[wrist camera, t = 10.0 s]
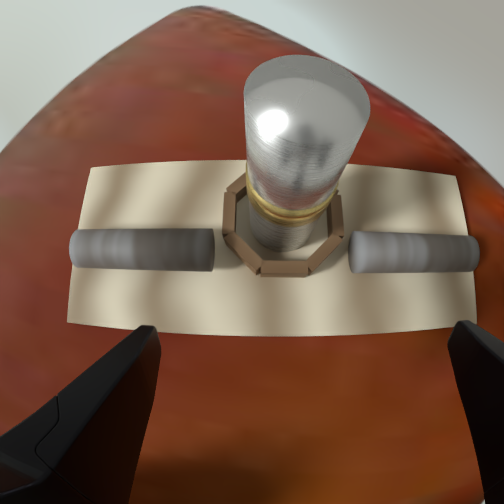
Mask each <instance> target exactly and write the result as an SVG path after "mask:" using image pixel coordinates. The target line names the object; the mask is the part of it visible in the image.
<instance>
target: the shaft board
mask: <svg viewBox="0 0 504 504" xmlns="http://www.w3.org/2000/svg"><path fill="white" fill-rule="evenodd" d="M246 161H247V160H209V161H177V162H157V163H140V164H127V165H114V166H103V167H93V168H91V171H90V175H89V179H88V183H87V188H86V192H85V197H84V201H83V206H82V211H81V216H80V222H79V227H78V230H76V231H75V232H74V233H73V234H72V237H71V240H70V245H69V253H70V258H71V261H72V263H73V266H72V274H71V283H70V293H69V304H68V317H67V322H69V323H77V324H85V325H93V326H102V327H111V328H120V329H131V330H135V329H136V328H138V327H139V326H140V325H153V326H155V327H156V329H157V332H168V333H184V334H203V335H228V336H332V335H357V334H376V333H391V332H405V331H417V330H427V329H438V328H447V327H454V326H455V324H456V323H457V322H458V321H460V320H470V321H471V322H473V323H474V324H477V315H476V298H475V286H474V276H473V270H475V268H476V267H477V265H478V262H479V257H480V250H479V245H478V242H477V240H476V239H475V238H474V237H473V236H468V232H467V226H466V221H465V216H464V211H463V206H462V201H461V197H460V192H459V188H458V184H457V180H456V176H452V175H445V174H438V173H431V172H423V171H415V170H407V169H398V168H388V167H378V166H367V165H354V164H347V165H346V167H345V169H344V171H343V173H342V175H341V177H340V179H339V184H338V187H337V190H336V192H335V194H334V195H333V197H332V199H331V201H330V203H329V205H328V207H327V209H326V210H325V212H324V213H323V214H322V215H321V217H320V219H319V220H318V222H317V224H316V226H315V228H314V230H313V232H312V234H311V236H310V238H309V239H308V241H307V242H306V243H305V244H304V245H303V246H301V247H300V248H298V249H296V250H294V251H290V252H275V251H272V250H269V249H267V248H265V247H264V246H262V245H261V244H260V243H259V242H258V241H257V240H256V238H255V237H254V235H253V233H252V231H251V227H250V210H249V198H248V195H247V187H246V171H245V169H246Z"/></svg>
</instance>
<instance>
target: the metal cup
mask: <svg viewBox="0 0 504 504" xmlns="http://www.w3.org/2000/svg"><path fill="white" fill-rule="evenodd" d="M244 109H245V130H246V150H247V161H246V169H245V171H246V187H247V195H248V198H249V210H250V227H251V231H252V233H253V235H254V237H255V238H256V240H257V241H258V242H259V243H260V244H261V245H262V246H264V247H265V248H267V249H269V250H272V251H275V252H290V251H294V250H296V249H298V248H300V247H301V246H303V245H304V244H305V243H306V242H307V241H308V239H309V238H310V236H311V234H312V232H313V230H314V228H315V226H316V224H317V222H318V220H319V219H320V217H321V215H322V214H323V213H324V212H325V210H326V209H327V207H328V205H329V203H330V201H331V199H332V197H333V195H334V194H335V192H336V190H337V187H338V184H339V179H340V177H341V175H342V173H343V171H344V169H345V167H346V165H347V163H348V161H349V159H350V157H351V155H352V153H353V151H354V149H355V146H356V144H357V142H358V140H359V138H360V136H361V134H362V132H363V130H364V128H365V125H366V123H367V121H368V118H369V115H370V102H369V98H368V95H367V93H366V91H365V89H364V87H363V86H362V84H361V83H360V82H359V81H358V80H357V79H356V78H355V77H354V76H353V75H352V74H351V73H350V72H348V71H347V70H346V69H344V68H343V67H341V66H339V65H337V64H335V63H333V62H331V61H328V60H325V59H322V58H318V57H313V56H307V55H288V56H282V57H277V58H274V59H271V60H269V61H266V62H265V63H263V64H261V65H260V66H258V67H257V68H256V69H255V70H254V71H253V72H252V73H251V74H250V75H249V77H248V79H247V81H246V83H245V87H244Z"/></svg>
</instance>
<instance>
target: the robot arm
mask: <svg viewBox="0 0 504 504" xmlns="http://www.w3.org/2000/svg"><path fill="white" fill-rule="evenodd" d="M448 350H449V354H450V358H451V362H452V366H453V371H454V375H455V379H456V383H457V387H458V391H459V394H460V397H461V400H462V404H463V407H464V410H465V414H466V417H467V421H468V424H469V428H470V432H471V436H472V440H473V444H474V448H475V452H476V456H477V461H478V465H479V470H480V475H481V480H482V486H483V491H484V499H485V504H504V342H502V341H501V340H499V339H497V338H496V337H494V336H493V335H491V334H490V333H488V332H487V331H485V330H484V329H482V328H481V327H479V326H477V325H476V324H474V323H473V322H471V321H470V320H460V321H458V322H457V323H456V324H455V326H454V328H453V331H452V333H451V335H450V337H449V339H448ZM160 358H161V345H160V341H159V337H158V333H157V329H156V327H155V326H153V325H140V326H139V327H138V328H136V329H135V330H134V331H133V332H132V333H130V334H129V335H128V336H127V337H125V338H124V339H123V340H122V341H121V342H119V343H118V344H117V345H116V346H114V347H113V348H112V349H111V350H110V351H108V352H107V353H106V354H105V355H104V356H102V357H101V358H100V359H99V360H98V361H96V362H95V363H94V364H93V365H92V366H90V367H89V368H88V369H87V370H85V371H84V372H83V373H82V374H81V375H79V376H78V377H77V378H76V379H75V380H73V381H72V382H71V383H70V384H69V385H67V386H66V387H65V388H64V389H63V390H62V391H60V392H59V393H58V394H57V396H54V397H53V398H52V399H51V400H49V401H48V402H47V403H46V404H45V405H43V406H42V407H41V408H40V409H38V410H37V411H36V412H35V413H33V414H32V415H30V416H29V417H28V418H26V419H25V420H23V421H22V422H21V423H19V424H18V425H16V426H15V427H13V428H12V429H10V430H9V431H7V432H6V433H4V434H3V435H2V436H0V504H128V501H129V497H130V493H131V488H132V484H133V480H134V475H135V471H136V467H137V463H138V459H139V455H140V451H141V447H142V443H143V439H144V435H145V432H146V428H147V424H148V420H149V417H150V413H151V409H152V405H153V401H154V396H155V390H156V383H157V377H158V370H159V364H160Z"/></svg>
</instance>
